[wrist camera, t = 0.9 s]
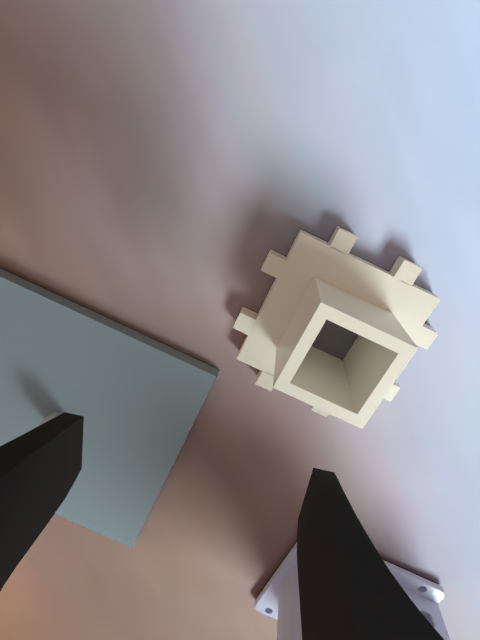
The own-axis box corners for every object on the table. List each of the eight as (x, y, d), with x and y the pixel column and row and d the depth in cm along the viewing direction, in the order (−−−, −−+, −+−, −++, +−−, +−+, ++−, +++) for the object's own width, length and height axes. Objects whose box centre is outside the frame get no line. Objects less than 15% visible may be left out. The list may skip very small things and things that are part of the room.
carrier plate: (219, 369, 22) (205, 406, 18) (136, 537, 27) (113, 591, 23) (-23, 258, 21) (-83, 274, 18) (-61, 450, 26) (-114, 492, 23)
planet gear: (460, 285, 19) (515, 321, 14) (363, 424, 22) (382, 492, 17) (292, 203, 18) (292, 214, 14) (217, 357, 22) (197, 407, 17)
